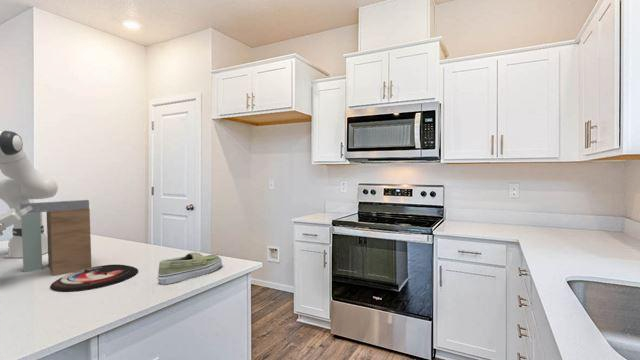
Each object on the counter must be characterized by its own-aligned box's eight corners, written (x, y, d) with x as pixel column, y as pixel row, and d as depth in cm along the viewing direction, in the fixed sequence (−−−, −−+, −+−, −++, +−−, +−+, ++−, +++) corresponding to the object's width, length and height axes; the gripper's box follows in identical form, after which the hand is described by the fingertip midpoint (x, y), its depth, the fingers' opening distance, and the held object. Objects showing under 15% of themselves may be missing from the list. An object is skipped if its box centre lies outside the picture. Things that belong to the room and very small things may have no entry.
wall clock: (83, 303, 113) (154, 271, 142) (82, 290, 113) (153, 260, 141) (32, 293, 122) (108, 265, 150) (30, 281, 122) (107, 255, 150)
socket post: (23, 268, 146) (20, 207, 145) (41, 265, 150) (38, 206, 149) (23, 272, 140) (21, 209, 139) (42, 269, 144) (40, 208, 143)
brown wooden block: (48, 264, 151) (46, 207, 150) (83, 259, 160) (81, 205, 159) (53, 275, 135) (50, 211, 134) (91, 268, 144) (89, 208, 143)
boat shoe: (228, 267, 145) (228, 247, 145) (170, 288, 120) (169, 263, 120) (211, 264, 151) (211, 244, 150) (152, 283, 126) (152, 260, 125)
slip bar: (20, 212, 131) (20, 203, 131) (87, 208, 146) (87, 199, 146) (20, 213, 129) (20, 204, 128) (89, 208, 144) (88, 200, 143)
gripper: (-19, 224, 115) (26, 201, 123) (-16, 218, 130) (24, 198, 138) (-6, 238, 118) (38, 215, 126) (-4, 230, 133) (35, 210, 141)
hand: (31, 206), depth 132 cm, fingers closed on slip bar, 4 cm apart
